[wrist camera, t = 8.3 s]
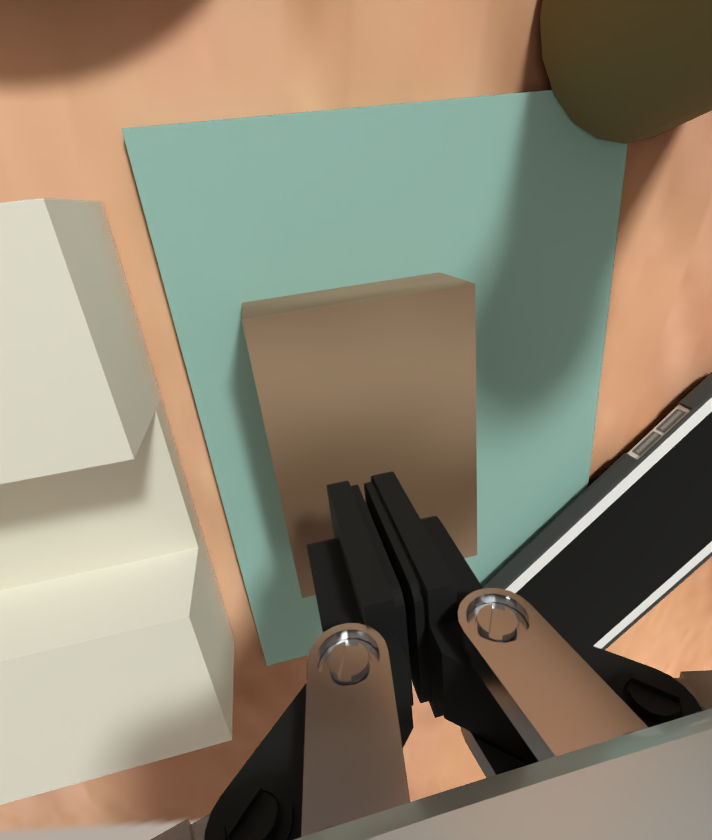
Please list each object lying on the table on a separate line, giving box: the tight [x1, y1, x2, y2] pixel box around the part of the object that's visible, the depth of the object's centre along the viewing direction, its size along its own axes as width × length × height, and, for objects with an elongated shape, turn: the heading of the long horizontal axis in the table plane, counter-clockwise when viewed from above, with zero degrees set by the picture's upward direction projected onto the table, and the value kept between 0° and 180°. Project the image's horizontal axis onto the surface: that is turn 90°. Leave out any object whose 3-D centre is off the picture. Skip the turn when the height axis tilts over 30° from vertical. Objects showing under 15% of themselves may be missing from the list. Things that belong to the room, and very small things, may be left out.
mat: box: [122, 90, 628, 666], centre depth 17 cm, size 19×14×1 cm
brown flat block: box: [242, 272, 477, 598], centre depth 15 cm, size 9×6×2 cm, turn 7°
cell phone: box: [483, 372, 712, 650], centre depth 20 cm, size 8×15×1 cm, turn 135°
